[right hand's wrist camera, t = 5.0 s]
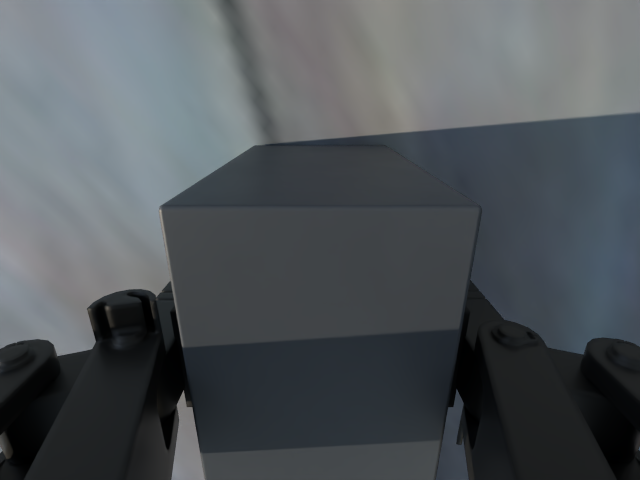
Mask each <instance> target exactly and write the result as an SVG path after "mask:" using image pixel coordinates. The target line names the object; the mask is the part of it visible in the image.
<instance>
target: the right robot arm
mask: <svg viewBox="0 0 640 480" xmlns="http://www.w3.org/2000/svg"><path fill="white" fill-rule="evenodd" d="M87 310H88V314H89V318H90V321H91V325H92V329H93V332H94V336H95V339H96V343H95V345H94V347H93V349H91V350H87V351H82V352H77V353H72V354H67V355H62V356H57V354H56V351H55V348H54V345H53V344H52V343H51V342H49V341H47V340H40V339H36V340H27V341H20V342H17V343H13V344H9V345H7V346H5V347H4V348H1V349H0V446H1V448H2V450H3V451H2V452H1V453H0V480H171V477H172V470H173V462H174V455H175V447H176V440H177V432H178V425H179V416H178V410H177V403H178V401H179V399H180V396H181V394H182V392H183V390H184V393H185V399H186V404H187V407H192V402H191V396H190V390H189V384H188V378H187V372H186V367H185V361H184V355H183V349H182V343H181V337H180V332H179V326H178V320H177V314H176V308H175V303H174V297H173V291H172V285H171V281H170V282H169V283H168V284H167V286H166V287H165V288H164V289H163V290H162V293H160V294H159V295H158V296H157V297H156V296H155V294H153V293H152V292H151V291H147V290H142V289H133V290H125V291H120V292H115V293H113V294H110V295H107V296H104V297H102V298H100V299H99V300H97V301H95V302H93V303H92V304H91V305H90V306H89V307H88V308H87ZM456 389H457V390H458V392H459V394H460V396H461V398H462V400H463V402H464V405H463V410H462V415H461V421H460V426H459V431H458V436H457V443H456V444H459V445H461V444H462V439H464V446H465V454H466V461H467V469H468V476H469V480H640V451H639V450H638V449H639V447H640V347H639V346H637V345H635V344H633V343H631V342H627V341H624V340H619V339H610V338H596V339H592V340H591V341H590V342H588V343H587V346H586V349H585V352H584V355H582V354H577V353H571V352H566V351H561V350H556V349H552V348H548V347H547V346H546V344H545V342H544V341H543V340H542V339H541V337H540V336H539V335H538V334H537V333H535V332H534V331H532V330H531V329H529V328H528V327H525V326H523V325H520V324H518V323H515V322H511V321H506V320H504V319H503V318H502V317H501V315H500V314H499V313H498V312H497V311H496V310H495V308H494V307H493V306H492V305H491V304H490V303H489V301H488V300H487V299H485V297H484V296H483V294H482V293H481V292H479V290H478V288H477V287H476V286H475V285H474V284H473V283H472V281H471V280H470V283H469V289H468V294H467V300H466V306H465V312H464V317H463V323H462V329H461V335H460V341H459V346H458V352H457V358H456V364H455V370H454V375H453V381H452V387H451V393H450V399H449V404H448V407H453V406H454V400H455V395H456Z"/></svg>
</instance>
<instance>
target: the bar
mask: <svg viewBox="0 0 640 480" xmlns="http://www.w3.org/2000/svg"><path fill="white" fill-rule="evenodd" d="M481 213H482V209H481V206H479V205H478V204H476V203H475V202H473V201H472V200H470V199H468V198H467V197H465V196H464V195H462V194H461V193H459V192H457V191H456V190H454V189H453V188H451V187H450V186H448V185H447V184H445V183H443V182H442V181H440V180H439V179H437V178H436V177H434V176H432V175H431V174H429V173H428V172H426V171H425V170H423V169H421V168H420V167H418V166H417V165H415V164H414V163H412V162H411V161H409V160H407V159H406V158H404V157H403V156H401V155H400V154H398V153H396V152H395V151H393V150H392V149H390V148H389V147H387V146H253V147H252V148H250V149H248V150H247V151H245V152H244V153H242V154H241V155H239V156H238V157H236V158H234V159H233V160H231V161H230V162H228V163H227V164H225V165H224V166H222V167H220V168H219V169H217V170H216V171H214V172H213V173H211V174H210V175H208V176H206V177H205V178H203V179H202V180H200V181H199V182H197V183H195V184H194V185H192V186H191V187H189V188H188V189H186V190H185V191H183V192H181V193H180V194H178V195H177V196H175V197H174V198H172V199H171V200H169V201H167V202H166V203H164V204H163V205H161V206H160V208H159V215H160V221H161V227H162V233H163V238H164V244H165V250H166V256H167V262H168V268H169V273H170V279H171V285H172V291H173V297H174V303H175V308H176V314H177V320H178V326H179V332H180V337H181V343H182V349H183V355H184V361H185V367H186V372H187V378H188V384H189V390H190V396H191V402H192V407H193V413H194V419H195V425H196V431H197V437H198V442H199V448H200V454H201V460H202V466H203V472H204V477H205V480H436V474H437V468H438V462H439V456H440V451H441V445H442V439H443V433H444V427H445V422H446V416H447V410H448V404H449V399H450V393H451V387H452V381H453V375H454V370H455V364H456V358H457V352H458V346H459V341H460V335H461V329H462V323H463V317H464V312H465V306H466V300H467V294H468V289H469V283H470V277H471V271H472V265H473V260H474V254H475V248H476V242H477V236H478V231H479V225H480V219H481Z"/></svg>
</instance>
